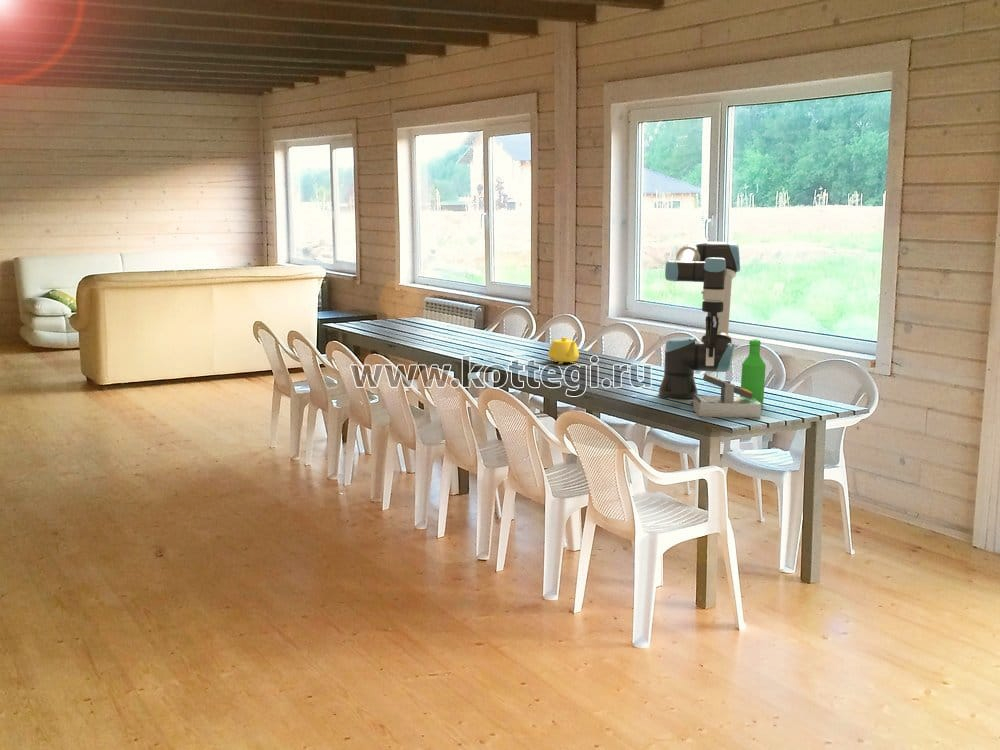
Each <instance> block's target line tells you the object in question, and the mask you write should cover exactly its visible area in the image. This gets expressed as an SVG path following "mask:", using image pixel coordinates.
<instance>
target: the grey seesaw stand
mask: <svg viewBox="0 0 1000 750" xmlns="http://www.w3.org/2000/svg"><path fill="white" fill-rule="evenodd" d="M724 381H725V382H727V383H729V384H725V389H724V388H721V387H720V395H698V394H697V395H696V394H695V393H694V398H693V400H694V401H693V400H692V401H693V406H692V409H693V411H694V412H695V413H696V414H697V416H698V417H700V416H702V417H705V418H706V417H707V418H708V417H709V418H710V417H711V418H746V417H761V416H762V405H761V403H759V402H758V401H757V400H756V399H755V398H754V397H752V398H751V399H748V398H746V397H740V396H735V393H734V386H735V384H734V383H731V380H724ZM761 418H762V417H761ZM746 419H747V418H746Z"/></svg>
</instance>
